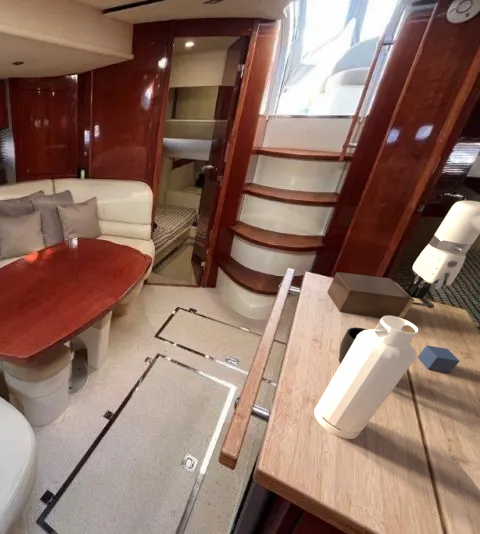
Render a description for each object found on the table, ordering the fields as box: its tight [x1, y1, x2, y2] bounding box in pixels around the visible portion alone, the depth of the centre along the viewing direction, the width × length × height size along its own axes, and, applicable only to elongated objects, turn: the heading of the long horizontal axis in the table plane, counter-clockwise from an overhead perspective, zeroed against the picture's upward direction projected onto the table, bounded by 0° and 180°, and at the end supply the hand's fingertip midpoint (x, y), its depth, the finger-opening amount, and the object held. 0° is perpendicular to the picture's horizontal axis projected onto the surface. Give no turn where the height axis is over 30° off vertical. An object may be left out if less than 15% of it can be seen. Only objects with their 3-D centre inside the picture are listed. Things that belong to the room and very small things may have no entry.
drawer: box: [393, 281, 435, 318], centre depth 99 cm, size 21×10×7 cm, turn 72°
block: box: [417, 344, 460, 374], centre depth 79 cm, size 4×4×4 cm
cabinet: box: [326, 271, 410, 319], centre depth 101 cm, size 15×12×9 cm
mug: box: [338, 326, 368, 365], centre depth 77 cm, size 8×12×10 cm
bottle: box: [313, 316, 419, 440], centre depth 60 cm, size 8×8×28 cm
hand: (414, 296), depth 96 cm, fingers closed
